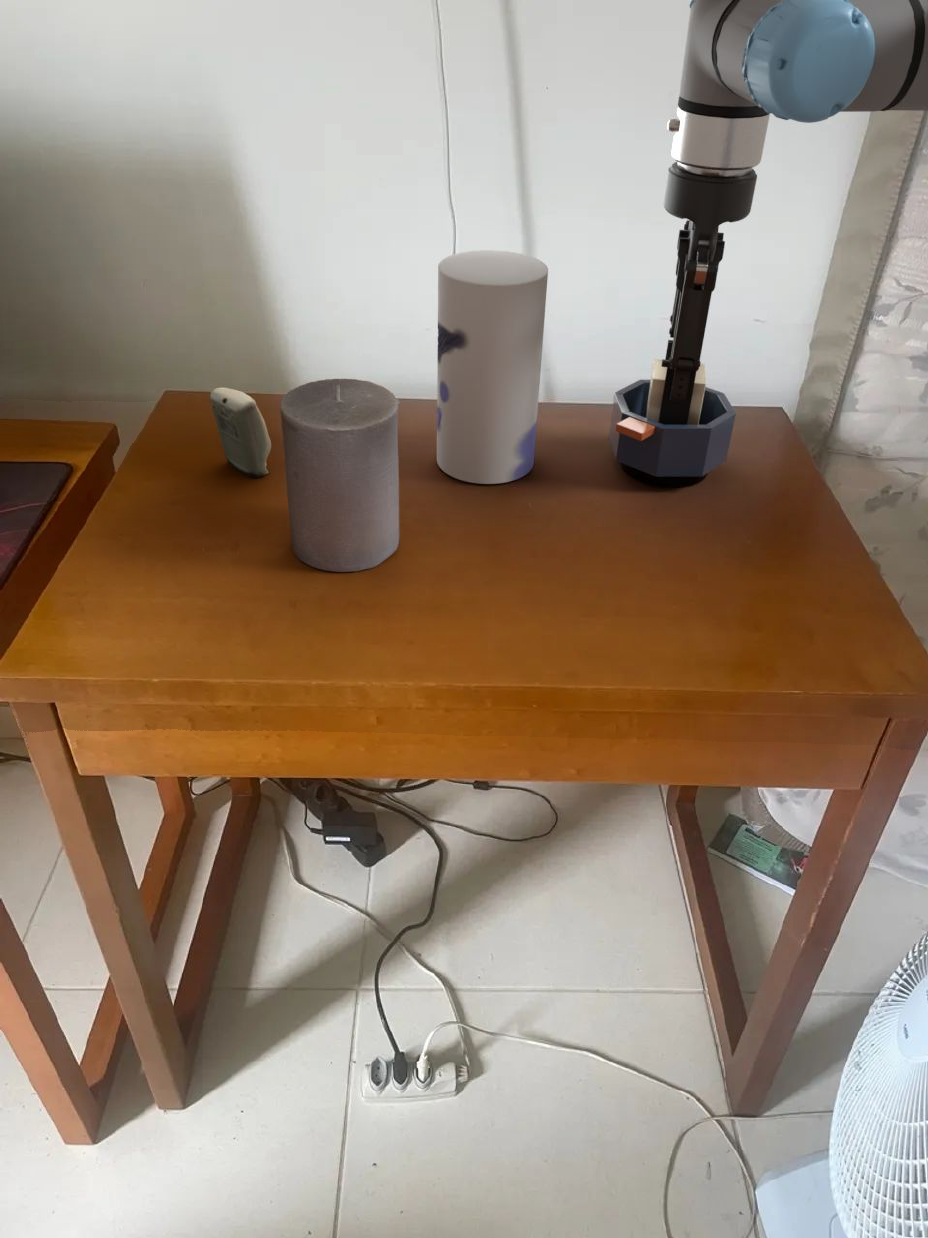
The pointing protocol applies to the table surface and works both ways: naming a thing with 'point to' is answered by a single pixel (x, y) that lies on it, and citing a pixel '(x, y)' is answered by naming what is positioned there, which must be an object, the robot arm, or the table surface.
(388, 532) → the pillar candle
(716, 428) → the bowl
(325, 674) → the table surface
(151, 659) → the table surface
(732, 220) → the robot arm
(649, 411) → the block
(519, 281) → the container
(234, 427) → the off-white long rounded piece
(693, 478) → the bowl foot
